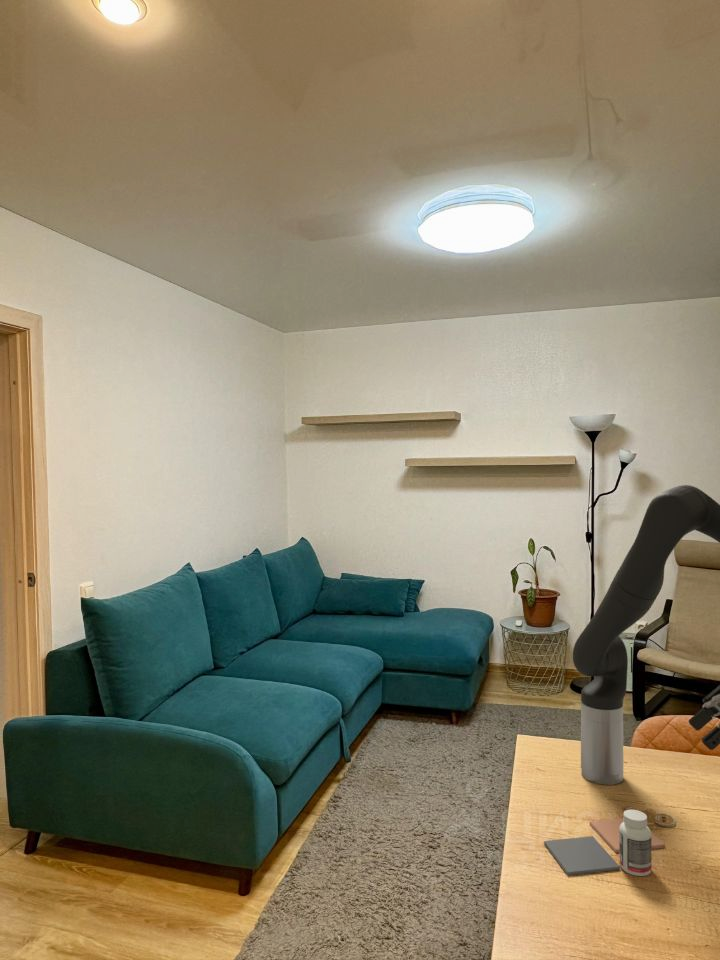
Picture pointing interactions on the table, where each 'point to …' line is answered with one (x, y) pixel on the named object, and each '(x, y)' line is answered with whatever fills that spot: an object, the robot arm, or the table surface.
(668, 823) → the cookie
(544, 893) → the table surface
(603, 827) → the terracotta coaster
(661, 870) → the table surface
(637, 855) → the pill bottle
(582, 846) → the slate coaster
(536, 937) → the table surface
